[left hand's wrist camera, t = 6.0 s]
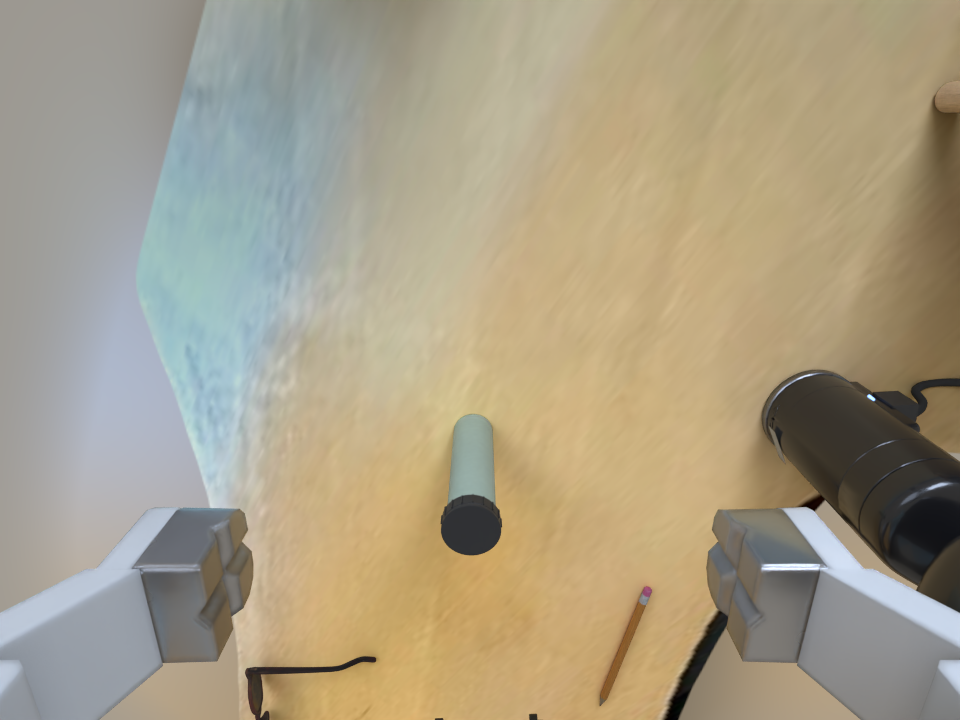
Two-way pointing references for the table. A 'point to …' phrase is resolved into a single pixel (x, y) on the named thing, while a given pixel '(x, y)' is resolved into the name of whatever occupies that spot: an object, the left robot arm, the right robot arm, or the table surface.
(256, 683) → the eyeglasses
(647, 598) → the pencil
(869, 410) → the right robot arm
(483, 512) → the lid
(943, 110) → the planter
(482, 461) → the jar
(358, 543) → the table surface
